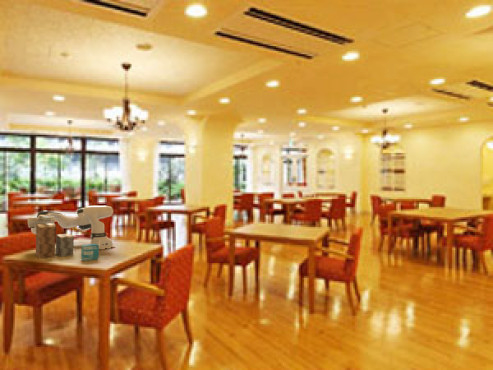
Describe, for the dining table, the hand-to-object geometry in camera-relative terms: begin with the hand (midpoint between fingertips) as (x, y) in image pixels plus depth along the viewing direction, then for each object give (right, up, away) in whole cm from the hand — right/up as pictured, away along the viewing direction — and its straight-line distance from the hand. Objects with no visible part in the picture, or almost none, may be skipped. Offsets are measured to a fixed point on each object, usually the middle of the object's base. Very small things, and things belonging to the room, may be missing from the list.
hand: (43, 216), depth 302 cm
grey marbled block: (+16, -32, +4) cm, 36 cm away
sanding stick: (+3, -2, -3) cm, 5 cm away
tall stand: (+5, -32, -6) cm, 33 cm away
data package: (+44, -33, -13) cm, 57 cm away
